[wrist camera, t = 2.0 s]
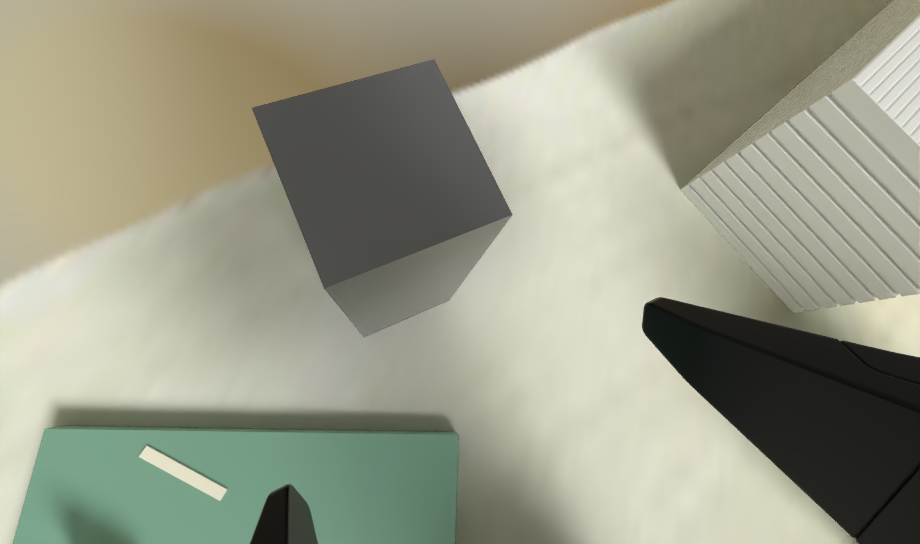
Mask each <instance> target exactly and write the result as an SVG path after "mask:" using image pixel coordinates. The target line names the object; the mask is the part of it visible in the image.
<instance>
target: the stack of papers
mask: <svg viewBox="0 0 920 544" xmlns="http://www.w3.org/2000/svg"><path fill="white" fill-rule="evenodd" d="M681 191H682V192H683V193H684V195H685V196H686V197H687V198H688V199H689V200H690V201H691V202H692V203H693V204H694V205H695V207H696V208H697V209H698V210H699V211H700V212H701V213H702V214H703V215H704V216H705V217H706V219H707V220H708V221H709V222H710V223H711V224H712V225H713V226H714V227H715V228H716V229H717V231H718V232H719V233H720V234H721V235H722V236H723V237H724V238H725V239H726V240H727V241H728V243H729V244H730V245H731V246H732V247H733V248H734V249H735V250H736V251H737V252H738V253H739V254H740V256H741V257H742V258H743V259H744V260H745V261H746V262H747V263H748V264H749V265H750V266H751V268H752V269H753V270H754V271H755V272H756V273H757V274H758V275H759V276H760V277H761V278H762V280H763V281H764V282H765V283H766V284H767V285H768V286H769V287H770V288H771V289H772V290H773V292H774V293H775V294H776V295H777V296H778V297H779V298H780V299H781V300H782V301H783V302H784V304H785V305H786V306H787V307H788V308H789V309H790V310H791V311H792V312H793V313H797V312H803V311H804V310H805V309H806V310H807V311H810V310H816V309H819V308H820V307H822V308H829V307H836V306H837V304H839V305H840V306H842V305H849V304H854V303H855V302H856V301H858V302H859V303H862V302H869V301H874V300H875V299H876V297H877V298H878V299H879V300H882V299H888V298H895V297H896V296H897V295H898V294H900V295H901V296H908V295H914V294H920V0H893V1H892V2H891V3H890V4H889V5H887V6H886V7H885V8H884V9H883V10H882V11H881V12H880V13H878V14H877V15H876V16H875V17H874V18H873V19H872V20H871V21H869V22H868V23H867V24H866V25H865V26H864V27H863V28H862V29H860V30H859V31H858V32H857V33H856V34H855V35H854V36H853V37H851V38H850V39H849V40H848V41H847V42H846V43H845V44H844V45H842V46H841V47H840V48H839V49H838V50H837V51H836V52H835V53H833V54H832V55H831V56H830V57H829V58H828V59H827V60H826V61H824V62H823V63H822V64H821V65H820V66H819V67H818V68H817V69H815V70H814V71H813V72H812V73H811V74H810V75H809V76H808V77H806V78H805V79H804V80H803V81H802V82H801V83H800V84H799V85H797V86H796V87H795V88H794V89H793V90H792V91H791V92H790V93H788V94H787V95H786V96H785V97H784V98H783V99H782V100H781V101H779V102H778V103H777V104H776V105H775V106H774V107H773V108H772V109H770V110H769V111H768V112H767V113H766V114H765V115H764V116H763V117H761V118H760V119H759V120H758V121H757V122H756V123H755V124H754V125H752V126H751V127H750V128H749V129H748V130H747V131H746V132H745V133H743V134H742V135H741V136H740V137H739V138H738V139H737V140H736V141H734V142H733V143H732V144H731V145H730V146H729V147H728V148H727V149H725V150H724V151H723V152H722V153H721V154H720V155H719V156H718V157H716V158H715V159H714V160H713V161H712V162H711V163H710V164H709V165H707V166H706V167H705V168H704V169H703V170H702V171H701V172H700V173H698V174H697V175H696V176H695V177H694V178H693V179H692V180H691V181H689V182H688V183H687V184H686V185H685V186H684V187H683V188H682V189H681Z"/></svg>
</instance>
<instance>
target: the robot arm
mask: <svg viewBox="0 0 920 544" xmlns="http://www.w3.org/2000/svg"><path fill="white" fill-rule="evenodd" d="M642 329H643V332H644V333H645V335H646V336H647V337H648V339H649V340H650V341H651V342H652V343H653V344H654V345H655V347H656V348H657V349H658V350H659V351H660V352H661V353H662V354H663V356H664V357H665V358H666V359H667V360H668V361H669V362H670V364H671V365H672V366H673V367H674V368H675V369H676V370H677V371H678V373H679V374H680V375H681V376H682V377H683V378H684V379H685V380H686V381H687V382H688V383H689V384H690V385H691V386H692V387H693V388H694V389H695V390H696V391H697V392H698V393H699V394H700V395H701V396H702V397H704V398H705V399H706V400H707V401H708V402H709V403H710V404H711V405H712V406H713V407H714V408H715V409H716V410H717V411H718V412H720V413H721V414H722V415H723V416H724V417H725V418H726V419H727V420H728V421H729V422H730V423H731V424H732V425H733V426H734V427H736V428H737V429H738V430H739V431H740V432H741V433H742V434H743V435H744V436H745V437H746V438H747V439H748V440H749V441H750V442H752V443H753V444H754V445H755V446H756V447H757V448H758V449H759V450H760V451H761V452H762V453H763V454H764V455H765V456H766V457H768V458H769V459H770V460H771V461H772V462H773V463H774V464H775V465H776V466H777V467H778V468H779V469H780V470H781V471H782V472H784V473H785V474H786V475H787V476H788V477H789V478H790V479H791V480H792V481H793V482H794V483H795V484H796V485H797V486H798V487H800V488H801V489H802V490H803V491H804V492H805V493H806V494H807V495H808V496H809V497H810V498H811V499H812V500H813V501H815V502H816V503H817V504H818V505H819V506H820V507H821V508H822V509H823V510H824V511H825V512H826V513H827V514H828V515H829V516H831V517H832V518H833V519H834V520H835V521H836V522H837V523H838V524H839V525H840V526H841V527H842V528H843V529H844V530H845V531H847V532H848V533H849V534H850V535H851V536H852V537H853V538H855V540H856V541H857V542H858V543H859V544H920V357H915V356H910V355H905V354H900V353H895V352H890V351H886V350H882V349H877V348H873V347H868V346H864V345H860V344H855V343H851V342H847V341H839V340H838V339H834V338H830V337H826V336H822V335H817V334H813V333H809V332H805V331H801V330H796V329H792V328H788V327H784V326H780V325H776V324H771V323H767V322H763V321H759V320H755V319H750V318H746V317H742V316H738V315H734V314H730V313H725V312H721V311H717V310H713V309H709V308H704V307H700V306H696V305H692V304H688V303H683V302H679V301H675V300H671V299H667V298H662V297H659V298H655V299H653V300H651V301H649V302H648V303H646V304H645V306H644V312H643V321H642ZM250 544H318V541H317V537H316V533H315V528H314V524H313V519H312V515H311V511H310V508H309V506H308V504H307V502H306V501H305V500H304V498H303V497H302V496H301V495H300V494H299V492H298V491H297V490H296V489H295V488H294V486H293V485H291V484H286V485H284V486H282V487H280V488H278V489H276V490H274V491H272V492H271V493H270V494H269V495H268V497H267V499H266V501H265V504H264V507H263V509H262V512H261V515H260V517H259V520H258V523H257V525H256V528H255V531H254V533H253V536H252V539H251V541H250Z"/></svg>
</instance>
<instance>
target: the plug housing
mask: <svg viewBox="0 0 920 544" xmlns="http://www.w3.org/2000/svg"><path fill="white" fill-rule="evenodd" d="M252 110H253V112H254V115H255V117H256V120H257V122H258V125H259V127H260V130H261V132H262V134H263V137H264V139H265V142H266V144H267V147H268V149H269V152H270V154H271V157H272V159H273V162H274V164H275V167H276V169H277V172H278V174H279V177H280V179H281V182H282V184H283V187H284V189H285V192H286V194H287V197H288V199H289V202H290V204H291V207H292V209H293V212H294V214H295V217H296V219H297V222H298V224H299V227H300V229H301V232H302V234H303V237H304V239H305V242H306V244H307V247H308V249H309V252H310V254H311V257H312V259H313V261H314V264H315V266H316V269H317V271H318V274H319V276H320V279H321V281H322V284H323V286H324V289H325V290H326V291H327V292H328V294H329V295H330V296H331V297H332V298H333V300H334V301H335V302H336V303H337V305H338V306H339V307H340V308H341V309H342V311H343V312H344V313H345V314H346V316H347V317H348V318H349V319H350V321H351V322H352V323H353V324H354V325H355V327H356V328H357V329H358V330H359V332H360V333H361V334H362V335H363V336H364V337H365V336H368V335H370V334H372V333H375V332H377V331H379V330H381V329H384V328H386V327H388V326H391V325H393V324H395V323H398V322H400V321H402V320H405V319H407V318H409V317H411V316H414V315H416V314H418V313H421V312H423V311H425V310H428V309H430V308H432V307H435V306H437V305H439V304H442V303H444V302H446V301H448V300H450V298H451V297H452V296H453V294H454V293H455V292H456V290H457V289H458V288H459V286H460V285H461V283H462V282H463V281H464V279H465V278H466V277H467V275H468V274H469V273H470V271H471V270H472V269H473V267H474V266H475V265H476V263H477V262H478V261H479V259H480V258H481V256H482V255H483V254H484V252H485V251H486V250H487V248H488V247H489V246H490V244H491V243H492V242H493V240H494V239H495V238H496V236H497V235H498V234H499V232H500V231H501V230H502V228H503V227H504V225H505V224H506V223H507V221H508V220H509V219H510V217H511V216H512V213H511V211H510V209H509V207H508V205H507V203H506V201H505V199H504V197H503V195H502V193H501V191H500V189H499V187H498V185H497V183H496V181H495V179H494V177H493V175H492V173H491V171H490V169H489V167H488V165H487V163H486V161H485V159H484V157H483V155H482V153H481V151H480V149H479V147H478V145H477V143H476V141H475V139H474V137H473V135H472V133H471V131H470V129H469V127H468V125H467V123H466V121H465V119H464V117H463V115H462V113H461V112H460V110H459V108H458V106H457V104H456V102H455V100H454V98H453V96H452V94H451V92H450V90H449V88H448V86H447V84H446V82H445V80H444V78H443V76H442V74H441V72H440V70H439V68H438V66H437V64H436V62H435V60H430V61H427V62H422V63H419V64H415V65H411V66H407V67H404V68H400V69H396V70H392V71H389V72H385V73H381V74H378V75H374V76H370V77H366V78H363V79H359V80H355V81H351V82H347V83H344V84H340V85H336V86H332V87H329V88H325V89H321V90H317V91H314V92H310V93H306V94H303V95H299V96H295V97H291V98H288V99H284V100H280V101H276V102H272V103H269V104H265V105H261V106H257V107H254V108H252Z"/></svg>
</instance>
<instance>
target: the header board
mask: <svg viewBox="0 0 920 544" xmlns="http://www.w3.org/2000/svg"><path fill="white" fill-rule="evenodd" d="M458 440H459V435H458V434H457V433H456V432H420V431H356V430H292V429H228V428H164V427H100V426H60V427H53V428H47V429H45V430H44V434H43V437H42V441H41V445H40V448H39V452H38V455H37V459H36V462H35V466H34V469H33V473H32V477H31V480H30V484H29V487H28V491H27V494H26V498H25V501H24V505H23V509H22V512H21V516H20V519H19V523H18V526H17V530H16V533H15V537H14V541H13V544H250V541H251V539H252V536H253V533H254V531H255V528H256V525H257V523H258V520H259V517H260V515H261V512H262V509H263V507H264V504H265V501H266V499H267V497H268V495H269V494H270V493H271V492H272V491H274V490H276V489H278V488H280V487H282V486H284V485H286V484H291V485H293V486H294V488H295V489H296V490H297V491H298V492H299V494H300V495H301V496H302V497H303V498H304V500H305V501H306V502H307V504H308V506H309V508H310V511H311V515H312V519H313V524H314V528H315V533H316V537H317V541H318V544H455V530H456V500H457V470H458Z"/></svg>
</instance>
